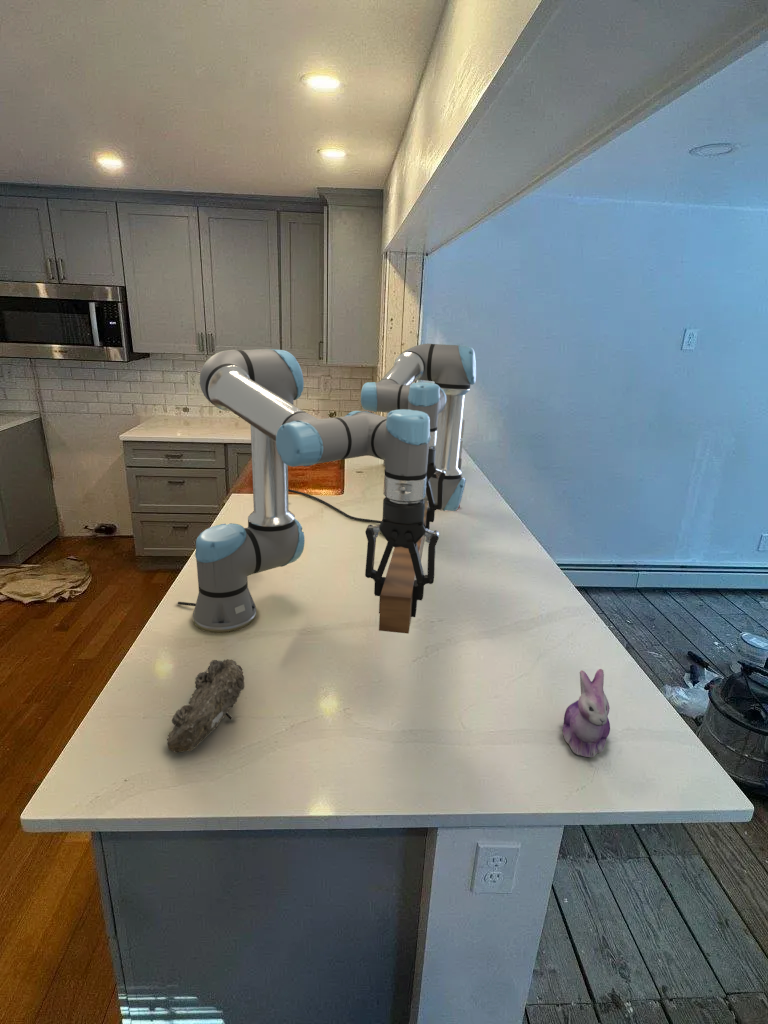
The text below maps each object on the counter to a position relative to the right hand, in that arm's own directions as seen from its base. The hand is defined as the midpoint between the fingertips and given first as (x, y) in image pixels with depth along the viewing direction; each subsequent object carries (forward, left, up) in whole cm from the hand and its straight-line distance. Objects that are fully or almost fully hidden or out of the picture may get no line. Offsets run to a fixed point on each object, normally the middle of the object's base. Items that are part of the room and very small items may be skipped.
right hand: (415, 531), depth 150 cm
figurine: (+61, -12, -19) cm, 65 cm away
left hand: (+29, -32, 0) cm, 43 cm away
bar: (+14, -16, 0) cm, 22 cm away
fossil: (+12, -64, -19) cm, 68 cm away
